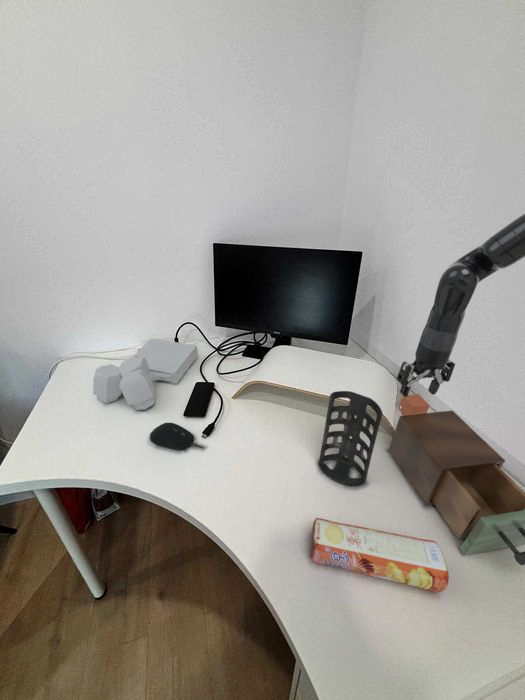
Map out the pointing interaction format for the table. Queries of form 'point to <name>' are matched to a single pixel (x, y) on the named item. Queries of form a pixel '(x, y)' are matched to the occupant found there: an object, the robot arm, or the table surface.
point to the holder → (349, 445)
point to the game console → (144, 372)
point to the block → (414, 405)
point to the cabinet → (437, 449)
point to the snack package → (380, 554)
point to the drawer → (483, 509)
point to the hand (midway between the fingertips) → (417, 393)
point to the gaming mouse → (172, 437)
